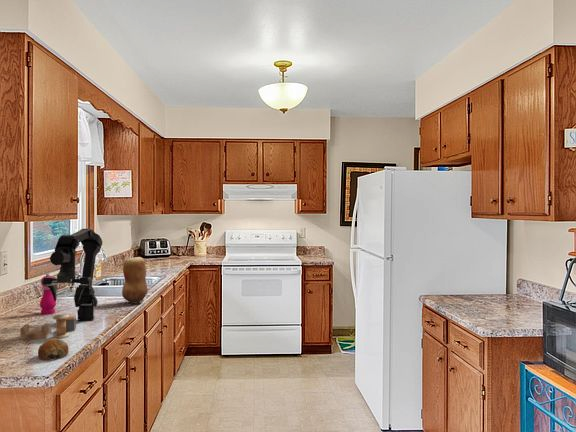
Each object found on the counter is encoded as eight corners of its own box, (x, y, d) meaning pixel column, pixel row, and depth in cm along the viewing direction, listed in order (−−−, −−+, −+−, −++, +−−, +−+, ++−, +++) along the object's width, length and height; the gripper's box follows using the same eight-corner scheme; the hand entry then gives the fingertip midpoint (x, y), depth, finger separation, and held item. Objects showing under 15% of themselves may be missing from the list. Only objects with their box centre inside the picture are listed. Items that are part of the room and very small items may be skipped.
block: (75, 328, 221) (75, 314, 221) (74, 330, 217) (74, 316, 217) (67, 328, 220) (67, 315, 220) (65, 331, 216) (65, 317, 216)
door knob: (70, 334, 211) (70, 313, 211) (67, 337, 205) (67, 317, 205) (54, 335, 210) (54, 314, 209) (51, 338, 204) (51, 317, 204)
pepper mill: (51, 311, 256) (51, 271, 256) (58, 313, 252) (58, 272, 251) (37, 313, 251) (36, 272, 250) (44, 315, 246) (43, 274, 246)
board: (51, 331, 215) (50, 321, 215) (45, 338, 205) (45, 327, 205) (27, 332, 213) (27, 322, 213) (20, 339, 202) (20, 328, 202)
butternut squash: (118, 302, 279) (118, 256, 279) (142, 299, 287) (142, 255, 287) (127, 306, 268) (127, 259, 268) (152, 303, 276) (152, 257, 276)
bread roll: (71, 363, 184) (74, 341, 188) (60, 359, 175) (64, 335, 178) (43, 363, 184) (47, 341, 187) (30, 359, 175) (35, 335, 178)
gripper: (38, 265, 209) (37, 303, 208) (86, 265, 213) (85, 303, 212) (46, 264, 220) (45, 300, 219) (92, 264, 224) (91, 300, 223)
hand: (66, 301), depth 218 cm, fingers open, 9 cm apart
